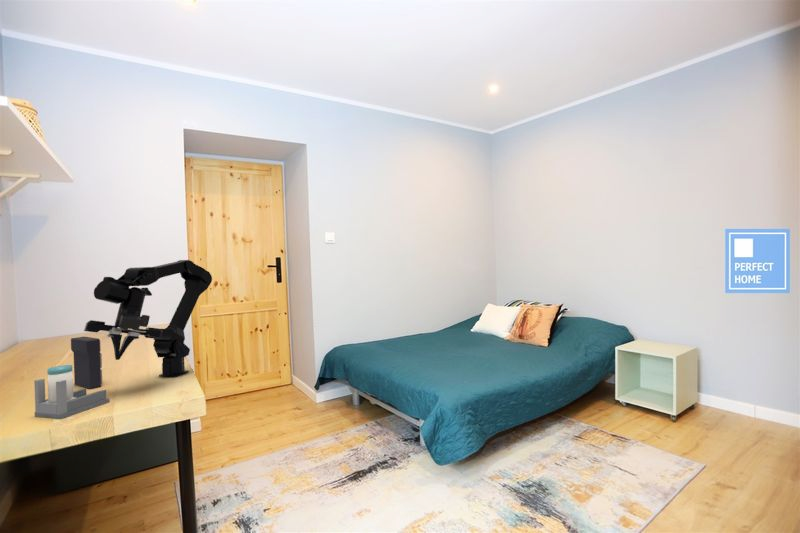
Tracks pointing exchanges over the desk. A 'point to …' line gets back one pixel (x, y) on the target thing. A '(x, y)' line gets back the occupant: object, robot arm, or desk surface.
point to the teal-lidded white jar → (58, 375)
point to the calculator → (87, 362)
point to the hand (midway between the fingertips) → (117, 359)
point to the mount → (65, 401)
